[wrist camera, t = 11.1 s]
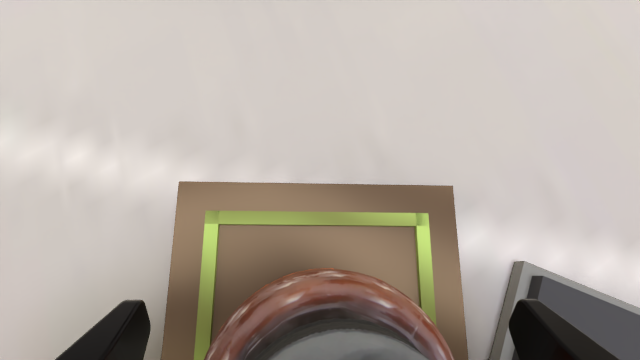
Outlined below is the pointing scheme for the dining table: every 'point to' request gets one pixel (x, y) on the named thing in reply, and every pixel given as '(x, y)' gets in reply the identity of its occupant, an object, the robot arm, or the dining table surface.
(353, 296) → the supplement bottle
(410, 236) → the board
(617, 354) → the pad
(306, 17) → the dining table surface
